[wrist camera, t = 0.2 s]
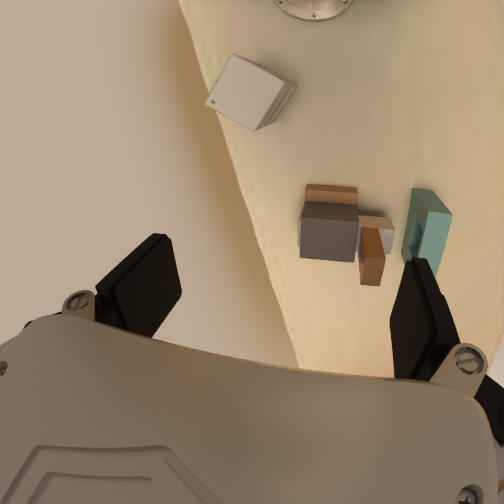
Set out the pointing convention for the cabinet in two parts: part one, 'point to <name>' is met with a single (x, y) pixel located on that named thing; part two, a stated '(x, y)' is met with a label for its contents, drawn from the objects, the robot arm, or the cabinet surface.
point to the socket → (426, 228)
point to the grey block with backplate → (329, 223)
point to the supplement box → (249, 93)
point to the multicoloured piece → (371, 247)
